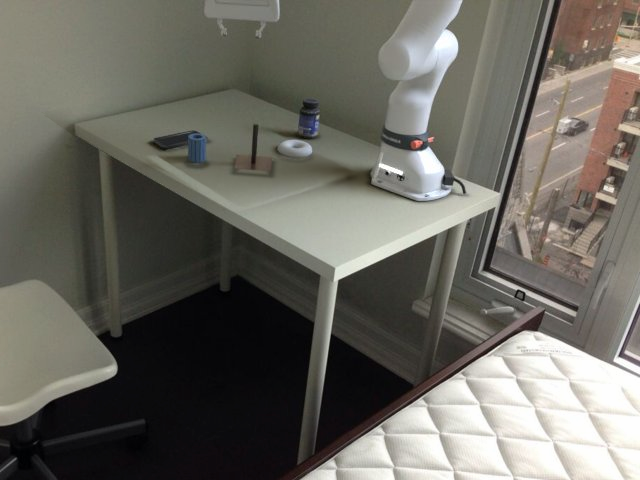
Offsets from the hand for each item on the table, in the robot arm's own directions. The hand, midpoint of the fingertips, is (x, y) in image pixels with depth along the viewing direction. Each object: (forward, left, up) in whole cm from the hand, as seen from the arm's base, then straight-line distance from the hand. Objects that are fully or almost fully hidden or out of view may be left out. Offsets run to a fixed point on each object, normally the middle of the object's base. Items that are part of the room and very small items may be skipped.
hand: (240, 36), depth 197 cm
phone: (+10, +13, -31) cm, 35 cm away
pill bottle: (-5, -24, -31) cm, 40 cm away
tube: (-6, +18, -31) cm, 36 cm away
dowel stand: (-16, +6, -31) cm, 35 cm away
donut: (-15, -10, -31) cm, 36 cm away
